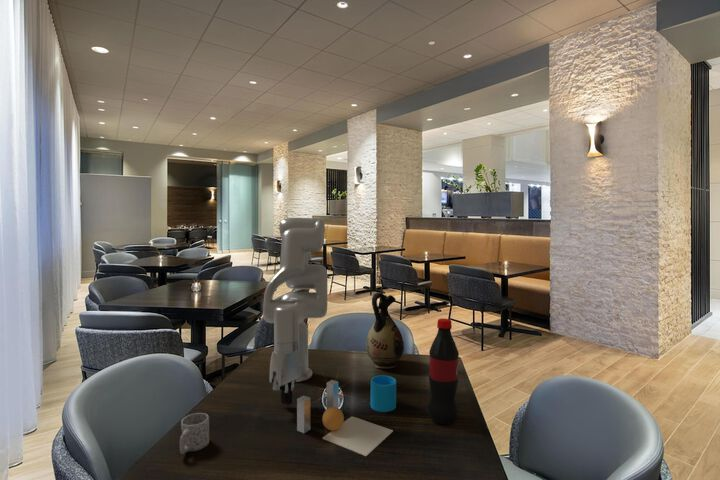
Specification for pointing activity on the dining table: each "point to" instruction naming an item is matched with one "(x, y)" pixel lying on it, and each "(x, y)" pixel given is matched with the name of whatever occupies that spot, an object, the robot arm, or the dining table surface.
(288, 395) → the robot arm
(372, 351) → the ceramic jug
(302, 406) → the post
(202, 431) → the mug
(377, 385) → the mug
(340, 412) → the ball
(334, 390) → the post
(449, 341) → the cola bottle
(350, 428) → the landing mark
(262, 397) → the dining table surface
